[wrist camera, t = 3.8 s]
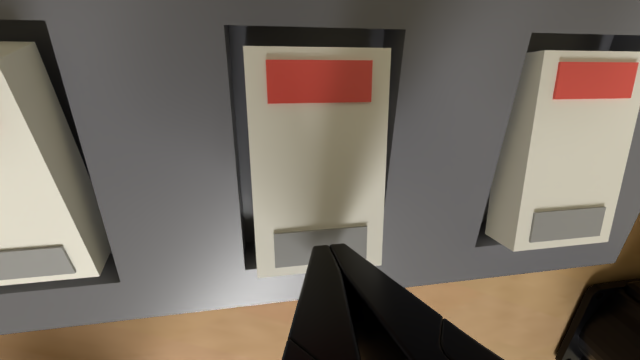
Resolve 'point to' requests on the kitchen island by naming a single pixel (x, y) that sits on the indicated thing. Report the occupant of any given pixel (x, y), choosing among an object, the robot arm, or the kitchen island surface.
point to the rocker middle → (316, 151)
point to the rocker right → (565, 149)
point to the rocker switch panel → (233, 140)
